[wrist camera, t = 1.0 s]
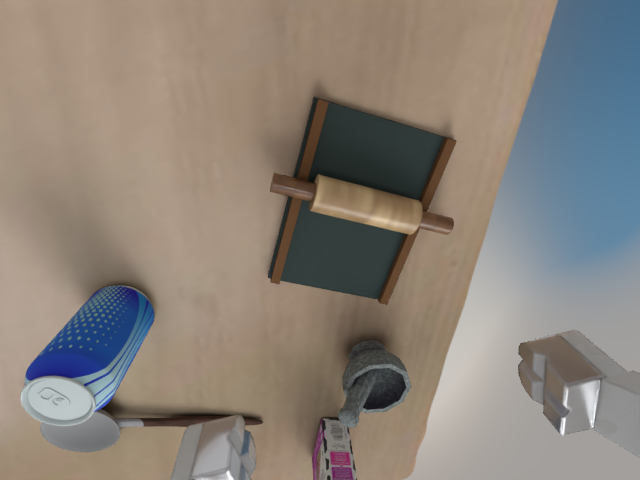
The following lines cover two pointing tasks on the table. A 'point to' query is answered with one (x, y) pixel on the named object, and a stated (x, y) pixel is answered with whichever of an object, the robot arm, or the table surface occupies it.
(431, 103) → the table surface
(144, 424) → the spoon
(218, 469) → the robot arm
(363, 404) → the mortar and pestle
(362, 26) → the table surface
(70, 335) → the beer can
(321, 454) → the candy bar box
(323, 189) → the rolling pin
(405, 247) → the chalkboard
